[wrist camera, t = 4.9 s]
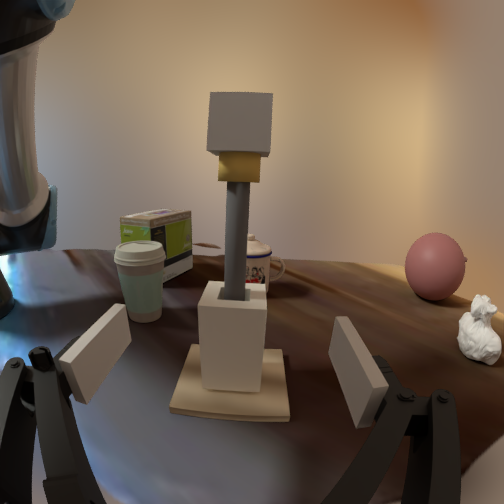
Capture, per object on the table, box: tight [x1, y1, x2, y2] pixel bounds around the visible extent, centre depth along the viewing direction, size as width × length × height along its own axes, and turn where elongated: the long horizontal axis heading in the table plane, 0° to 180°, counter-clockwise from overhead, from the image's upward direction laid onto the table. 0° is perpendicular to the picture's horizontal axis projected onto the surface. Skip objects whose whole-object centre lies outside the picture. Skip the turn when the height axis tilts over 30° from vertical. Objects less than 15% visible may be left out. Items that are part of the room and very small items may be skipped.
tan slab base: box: [169, 344, 290, 422], centre depth 29 cm, size 12×12×1 cm
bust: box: [457, 294, 502, 365], centre depth 30 cm, size 12×8×11 cm
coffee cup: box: [114, 241, 166, 323], centre depth 41 cm, size 8×9×12 cm
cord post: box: [207, 92, 273, 301], centre depth 25 cm, size 5×5×28 cm
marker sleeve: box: [198, 281, 267, 392], centre depth 27 cm, size 6×6×10 cm
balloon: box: [405, 233, 467, 300], centre depth 52 cm, size 15×20×15 cm
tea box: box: [120, 209, 193, 283], centre depth 61 cm, size 15×10×15 cm, turn 158°
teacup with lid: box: [246, 234, 285, 293], centre depth 55 cm, size 12×9×12 cm
